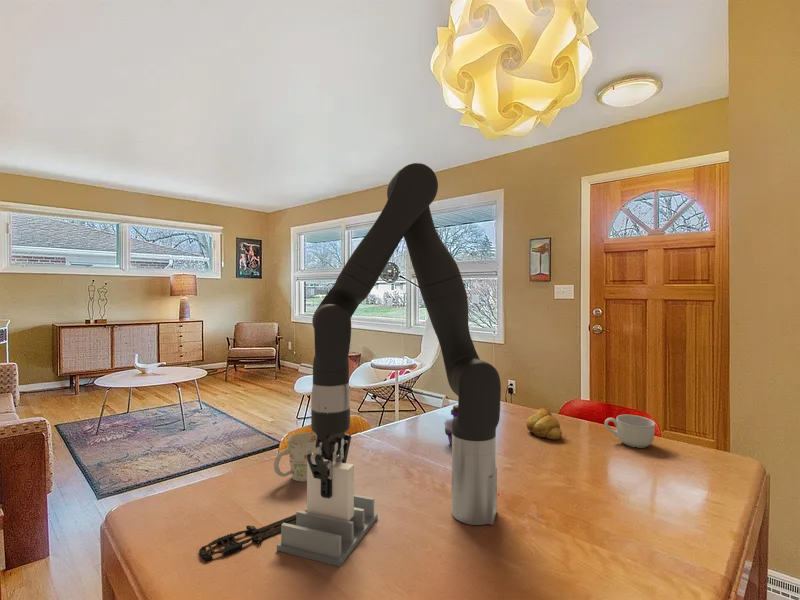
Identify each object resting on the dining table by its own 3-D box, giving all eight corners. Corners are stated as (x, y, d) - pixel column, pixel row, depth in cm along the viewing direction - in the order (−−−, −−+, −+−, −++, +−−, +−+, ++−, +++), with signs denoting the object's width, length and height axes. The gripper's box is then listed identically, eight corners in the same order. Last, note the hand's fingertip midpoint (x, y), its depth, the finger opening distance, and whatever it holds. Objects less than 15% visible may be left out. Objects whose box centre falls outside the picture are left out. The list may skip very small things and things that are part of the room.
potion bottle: (441, 439, 134) (441, 402, 134) (467, 438, 135) (467, 402, 135) (447, 449, 125) (447, 410, 125) (474, 448, 126) (474, 409, 126)
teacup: (655, 442, 132) (655, 417, 132) (654, 453, 123) (654, 426, 123) (606, 434, 139) (606, 411, 139) (602, 444, 130) (603, 419, 130)
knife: (321, 508, 91) (321, 502, 91) (335, 521, 86) (335, 514, 86) (196, 549, 77) (196, 541, 77) (204, 567, 71) (204, 559, 71)
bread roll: (568, 441, 133) (569, 416, 133) (541, 443, 131) (542, 418, 131) (546, 428, 146) (546, 405, 146) (521, 430, 144) (521, 407, 144)
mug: (326, 476, 106) (327, 437, 106) (283, 493, 97) (283, 451, 97) (308, 467, 112) (308, 430, 112) (265, 482, 103) (265, 442, 103)
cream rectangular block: (313, 507, 84) (313, 458, 83) (353, 515, 81) (353, 464, 80) (307, 513, 81) (307, 462, 81) (347, 522, 78) (348, 469, 78)
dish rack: (323, 507, 91) (323, 487, 91) (377, 518, 86) (377, 497, 86) (276, 550, 75) (276, 526, 75) (339, 566, 71) (339, 540, 71)
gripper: (329, 417, 73) (329, 514, 73) (363, 399, 86) (362, 481, 86) (293, 412, 75) (293, 507, 76) (331, 395, 88) (331, 476, 89)
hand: (330, 493), depth 81 cm, fingers closed on cream rectangular block, 2 cm apart
